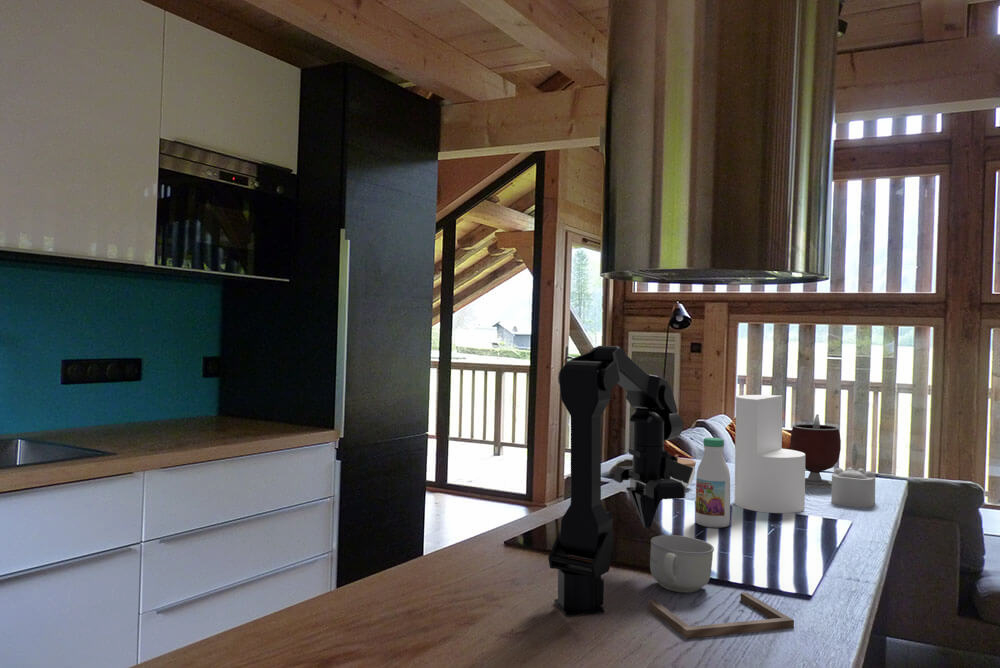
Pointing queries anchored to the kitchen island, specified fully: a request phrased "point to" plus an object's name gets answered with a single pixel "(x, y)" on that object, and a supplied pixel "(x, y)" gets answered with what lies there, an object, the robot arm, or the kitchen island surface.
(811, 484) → the mate gourd
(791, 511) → the white stepped block
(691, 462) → the lidded jar
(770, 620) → the frame
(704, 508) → the milk bottle
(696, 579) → the teacup
